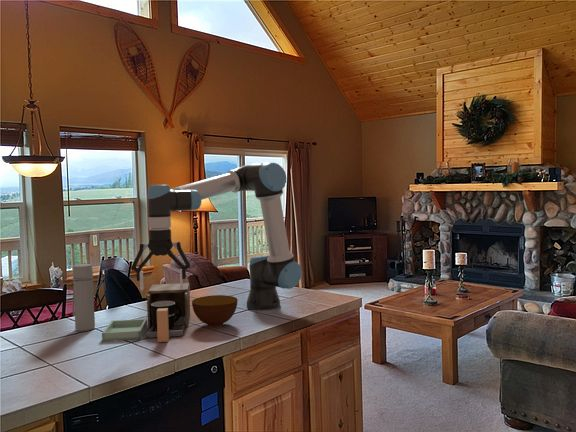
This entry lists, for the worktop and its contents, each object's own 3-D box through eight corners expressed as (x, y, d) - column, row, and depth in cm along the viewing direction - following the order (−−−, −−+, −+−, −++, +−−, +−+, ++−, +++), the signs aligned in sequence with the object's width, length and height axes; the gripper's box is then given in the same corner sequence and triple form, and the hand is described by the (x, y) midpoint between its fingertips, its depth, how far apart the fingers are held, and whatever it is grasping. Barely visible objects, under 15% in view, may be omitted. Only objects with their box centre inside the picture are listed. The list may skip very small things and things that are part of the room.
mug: (159, 334, 179) (158, 307, 179) (147, 329, 186) (146, 303, 185) (187, 327, 188) (186, 301, 187) (175, 323, 194) (174, 298, 194)
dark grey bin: (185, 323, 192) (184, 296, 191) (181, 340, 171) (180, 309, 170) (152, 325, 190) (151, 297, 189) (144, 342, 169) (143, 311, 168)
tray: (147, 326, 190) (146, 318, 190) (140, 339, 174) (140, 331, 174) (112, 328, 188) (111, 320, 188) (102, 341, 172) (101, 333, 172)
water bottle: (100, 327, 190) (97, 264, 188) (85, 333, 182) (82, 267, 181) (81, 325, 193) (78, 263, 191) (66, 331, 185) (63, 266, 184)
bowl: (220, 316, 203) (219, 293, 202) (247, 325, 190) (246, 299, 189) (183, 325, 190) (183, 300, 190) (210, 335, 178) (209, 308, 177)
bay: (190, 315, 205) (189, 283, 204) (187, 327, 188) (186, 291, 187) (153, 317, 203) (152, 284, 202) (147, 329, 186) (146, 293, 185)
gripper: (196, 227, 175) (198, 285, 176) (124, 229, 171) (127, 288, 172) (195, 228, 167) (197, 289, 169) (120, 230, 164) (123, 293, 165)
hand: (161, 289), depth 171 cm, fingers open, 13 cm apart
